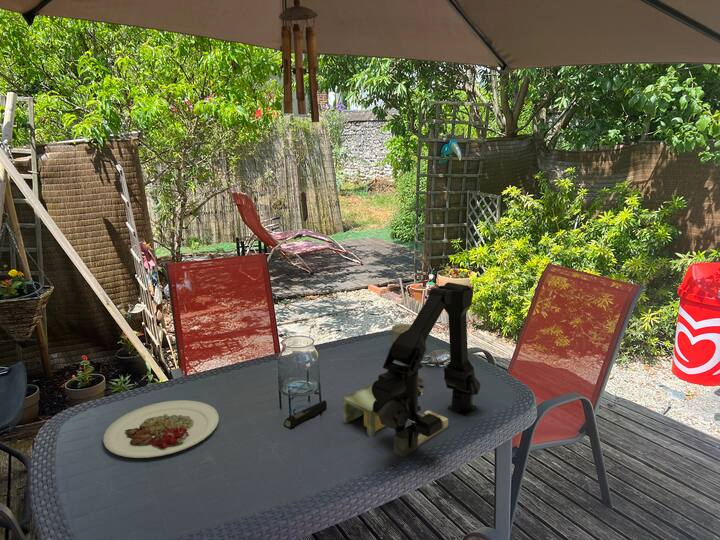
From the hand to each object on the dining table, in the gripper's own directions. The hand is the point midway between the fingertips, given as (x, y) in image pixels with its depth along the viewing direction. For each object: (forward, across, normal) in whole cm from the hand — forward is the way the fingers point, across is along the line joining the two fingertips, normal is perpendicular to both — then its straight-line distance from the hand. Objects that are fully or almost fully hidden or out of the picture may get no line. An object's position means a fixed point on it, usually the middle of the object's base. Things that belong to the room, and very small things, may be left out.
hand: (406, 444), depth 130 cm
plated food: (+2, -55, -40) cm, 68 cm away
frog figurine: (+2, -22, +28) cm, 36 cm away
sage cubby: (+2, -16, +7) cm, 18 cm away
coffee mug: (+2, -43, +52) cm, 68 cm away
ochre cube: (+2, -14, +4) cm, 15 cm away
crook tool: (+2, -2, +7) cm, 8 cm away
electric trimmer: (+2, -32, -7) cm, 33 cm away
